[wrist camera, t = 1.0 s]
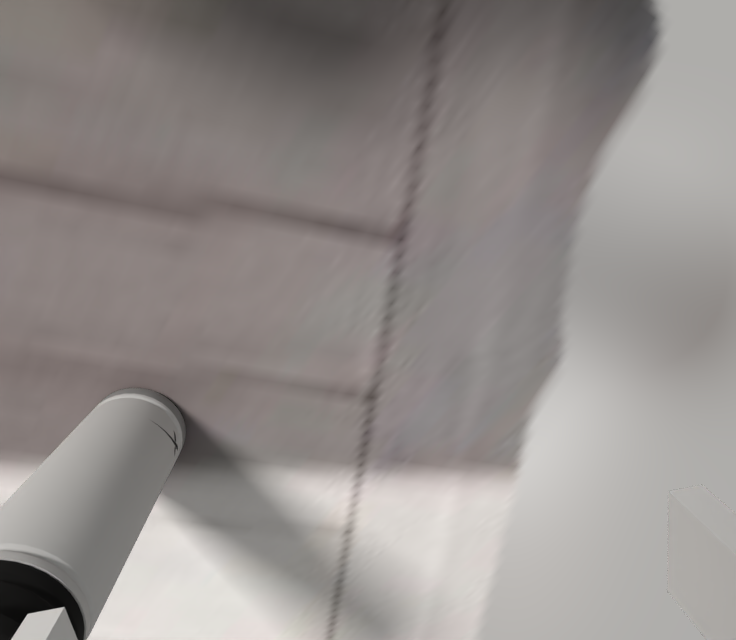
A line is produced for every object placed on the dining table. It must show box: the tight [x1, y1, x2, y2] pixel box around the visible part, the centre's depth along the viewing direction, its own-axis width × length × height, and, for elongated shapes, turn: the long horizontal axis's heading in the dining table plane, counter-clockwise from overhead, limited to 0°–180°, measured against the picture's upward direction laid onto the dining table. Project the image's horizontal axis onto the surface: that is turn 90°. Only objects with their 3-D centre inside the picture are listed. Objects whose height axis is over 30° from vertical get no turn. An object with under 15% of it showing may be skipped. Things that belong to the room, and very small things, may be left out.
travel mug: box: [0, 388, 186, 640], centre depth 28 cm, size 6×7×20 cm
